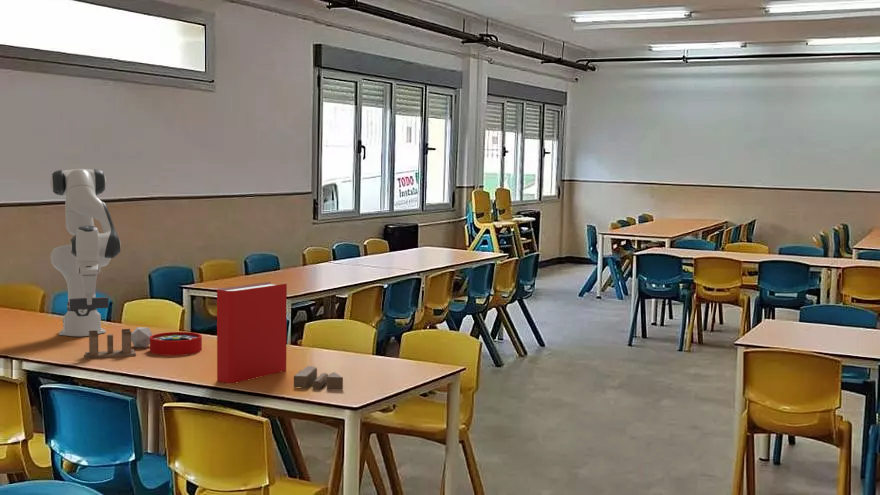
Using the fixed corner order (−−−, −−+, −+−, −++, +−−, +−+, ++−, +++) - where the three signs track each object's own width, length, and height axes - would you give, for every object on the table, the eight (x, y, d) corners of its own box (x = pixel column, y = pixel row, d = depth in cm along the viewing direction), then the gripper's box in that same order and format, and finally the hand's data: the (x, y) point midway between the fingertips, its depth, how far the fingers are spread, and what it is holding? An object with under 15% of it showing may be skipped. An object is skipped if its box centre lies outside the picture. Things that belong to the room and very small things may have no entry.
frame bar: (69, 309, 360) (69, 298, 360) (107, 307, 366) (107, 296, 366) (70, 309, 358) (69, 299, 357) (108, 307, 364) (108, 297, 364)
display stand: (85, 354, 363) (84, 330, 362) (133, 351, 370) (133, 328, 370) (86, 358, 356) (85, 334, 355) (135, 355, 363) (135, 331, 362)
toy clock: (203, 340, 368) (150, 342, 362) (203, 354, 369) (150, 357, 363) (200, 331, 387) (149, 332, 381) (200, 345, 388) (149, 347, 382)
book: (270, 367, 347) (270, 281, 345) (286, 370, 343) (286, 283, 340) (214, 381, 325) (214, 289, 322) (231, 384, 320) (231, 291, 317)
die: (137, 351, 375) (153, 331, 377) (122, 339, 377) (137, 319, 379) (146, 354, 383) (160, 335, 385) (130, 343, 385) (145, 323, 387)
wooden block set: (292, 373, 316) (306, 362, 334) (292, 390, 316) (306, 378, 334) (342, 375, 314) (353, 364, 332) (342, 392, 314) (353, 380, 332)
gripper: (79, 266, 369) (79, 300, 370) (80, 271, 350) (81, 307, 351) (96, 265, 372) (96, 300, 373) (98, 270, 353) (99, 307, 354)
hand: (89, 303), depth 362 cm, fingers closed on frame bar, 3 cm apart
